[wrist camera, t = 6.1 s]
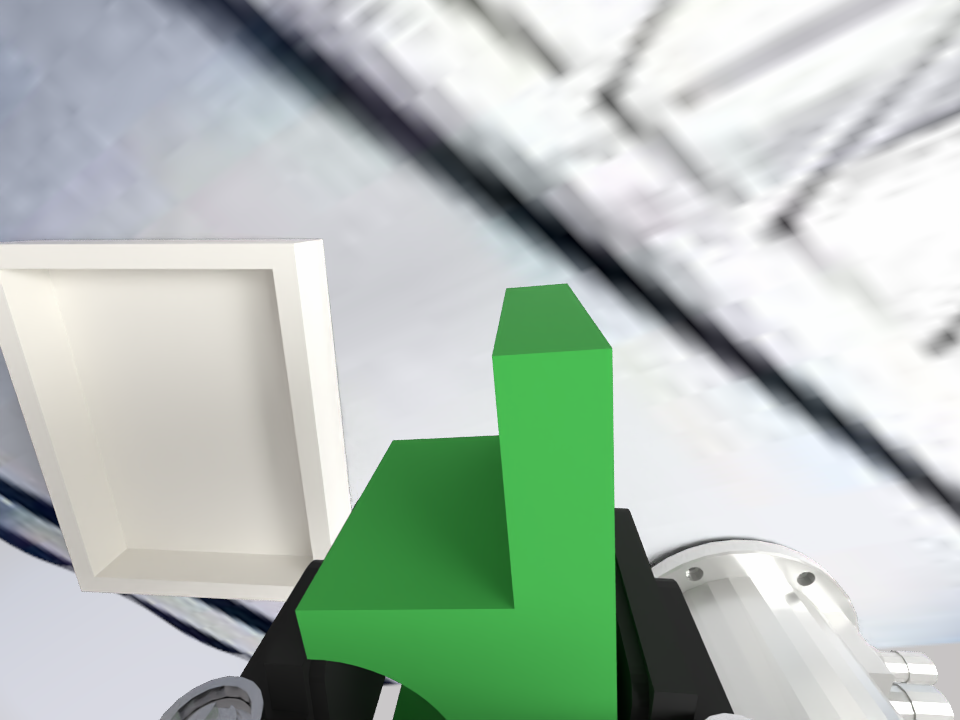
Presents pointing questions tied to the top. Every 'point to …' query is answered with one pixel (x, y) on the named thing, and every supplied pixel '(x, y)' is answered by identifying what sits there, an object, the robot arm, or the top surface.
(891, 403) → the top surface
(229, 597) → the tray
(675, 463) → the top surface
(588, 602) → the pipe clamp
